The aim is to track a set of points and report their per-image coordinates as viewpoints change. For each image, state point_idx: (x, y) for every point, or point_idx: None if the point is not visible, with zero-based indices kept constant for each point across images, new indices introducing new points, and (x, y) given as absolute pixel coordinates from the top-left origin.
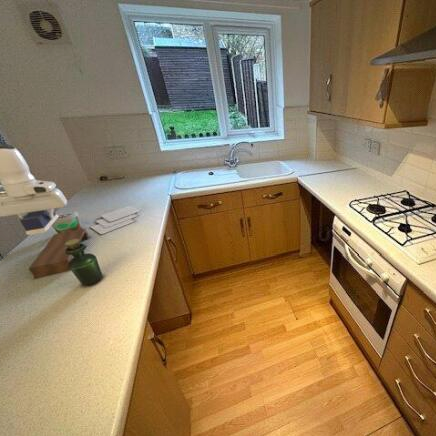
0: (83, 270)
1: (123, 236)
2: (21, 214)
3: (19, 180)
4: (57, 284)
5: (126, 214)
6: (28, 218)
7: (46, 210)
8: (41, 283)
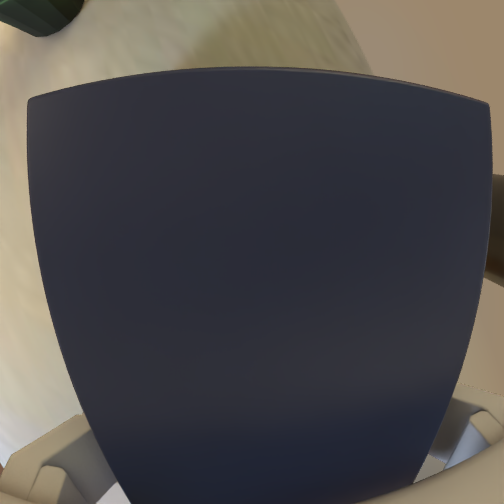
0: None
1: (27, 344)
2: (493, 434)
3: None
4: (177, 15)
5: (106, 496)
6: (342, 156)
7: None
8: (249, 46)
